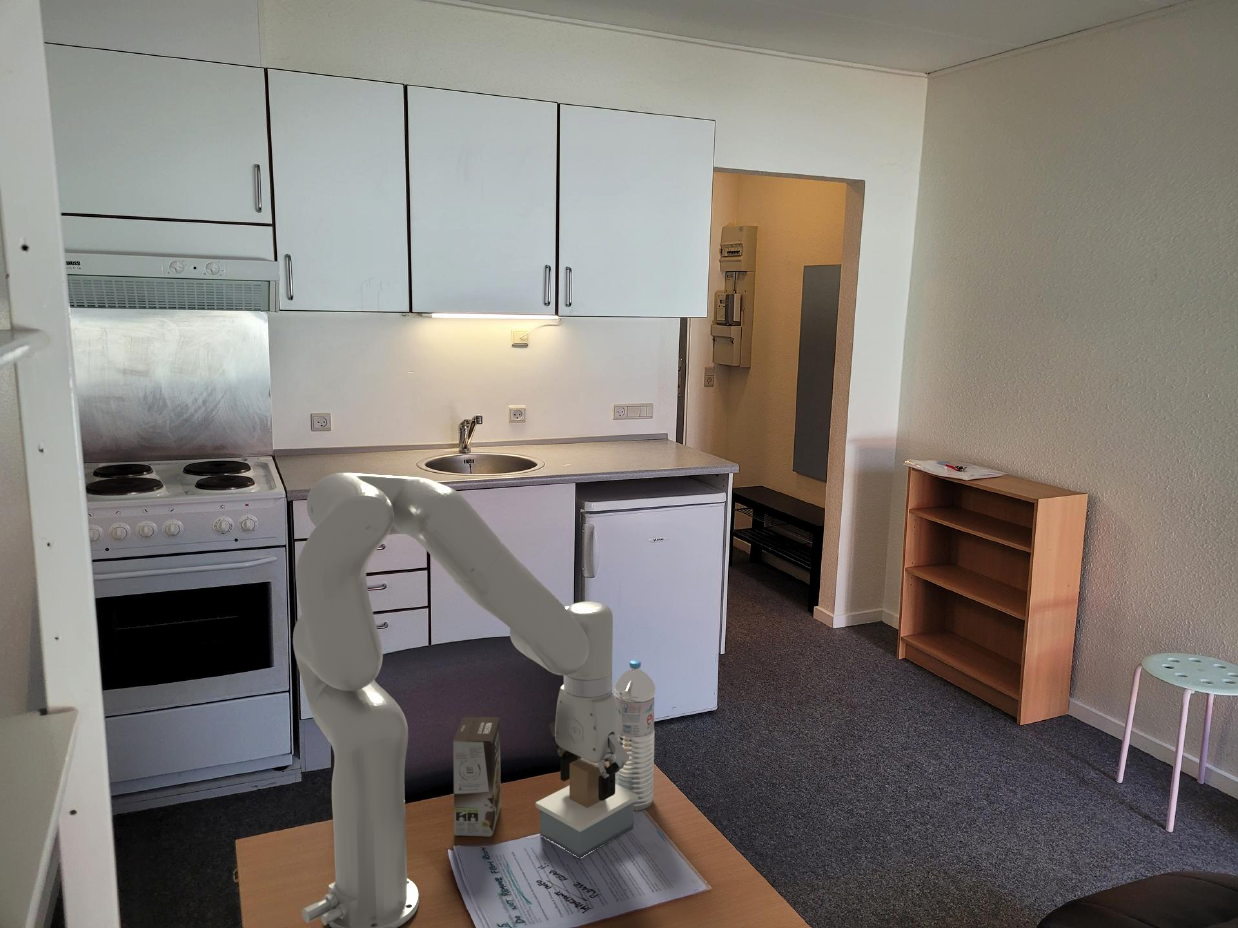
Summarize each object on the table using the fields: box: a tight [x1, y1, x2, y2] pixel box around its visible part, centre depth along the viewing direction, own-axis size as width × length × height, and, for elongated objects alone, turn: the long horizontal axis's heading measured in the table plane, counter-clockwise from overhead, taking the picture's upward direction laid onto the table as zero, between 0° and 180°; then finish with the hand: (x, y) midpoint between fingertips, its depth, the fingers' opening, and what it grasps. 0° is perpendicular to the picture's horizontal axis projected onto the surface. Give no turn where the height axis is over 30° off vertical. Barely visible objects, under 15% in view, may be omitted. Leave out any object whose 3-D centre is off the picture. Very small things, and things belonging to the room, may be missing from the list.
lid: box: [535, 757, 638, 832], centre depth 146 cm, size 13×10×7 cm
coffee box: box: [452, 716, 502, 837], centre depth 149 cm, size 9×6×16 cm
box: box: [539, 802, 635, 858], centre depth 147 cm, size 12×9×5 cm
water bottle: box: [613, 659, 656, 812], centre depth 154 cm, size 7×7×25 cm
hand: (587, 786), depth 146 cm, fingers open, 7 cm apart
